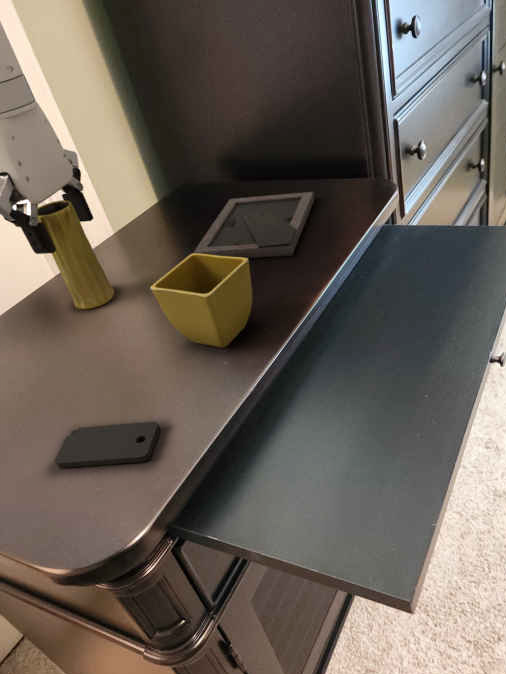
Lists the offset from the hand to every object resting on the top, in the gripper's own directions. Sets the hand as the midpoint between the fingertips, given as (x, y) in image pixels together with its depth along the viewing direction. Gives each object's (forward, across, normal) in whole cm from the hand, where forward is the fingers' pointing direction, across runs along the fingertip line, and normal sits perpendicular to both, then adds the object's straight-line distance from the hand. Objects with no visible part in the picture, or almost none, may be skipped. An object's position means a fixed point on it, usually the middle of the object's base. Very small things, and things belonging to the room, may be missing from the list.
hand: (65, 235), depth 73 cm
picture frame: (+11, -22, +20) cm, 31 cm away
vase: (+10, 0, 0) cm, 10 cm away
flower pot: (+11, +9, +24) cm, 28 cm away
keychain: (+10, +29, +19) cm, 36 cm away
